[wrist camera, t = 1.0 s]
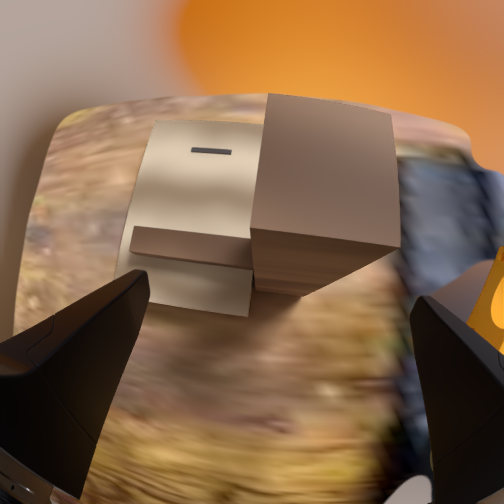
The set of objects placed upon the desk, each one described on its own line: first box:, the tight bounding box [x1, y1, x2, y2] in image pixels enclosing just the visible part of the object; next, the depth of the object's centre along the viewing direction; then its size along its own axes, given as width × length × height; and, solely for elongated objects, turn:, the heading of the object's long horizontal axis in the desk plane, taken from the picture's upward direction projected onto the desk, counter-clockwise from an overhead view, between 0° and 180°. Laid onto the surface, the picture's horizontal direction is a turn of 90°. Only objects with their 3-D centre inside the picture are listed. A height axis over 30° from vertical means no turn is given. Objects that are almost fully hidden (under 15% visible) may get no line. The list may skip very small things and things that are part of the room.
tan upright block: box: [129, 93, 400, 296], centre depth 15 cm, size 4×12×16 cm, turn 83°
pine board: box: [114, 120, 264, 317], centre depth 23 cm, size 15×10×3 cm, turn 173°
